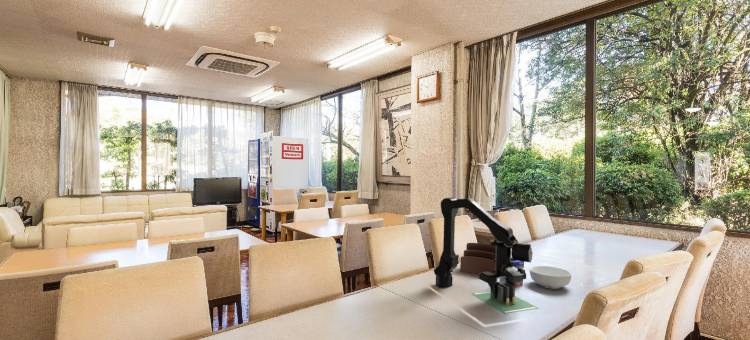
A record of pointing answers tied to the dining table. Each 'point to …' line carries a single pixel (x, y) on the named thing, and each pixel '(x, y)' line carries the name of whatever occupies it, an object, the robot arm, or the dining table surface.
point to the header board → (506, 303)
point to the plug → (504, 292)
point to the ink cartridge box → (517, 265)
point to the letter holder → (478, 258)
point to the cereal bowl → (550, 276)
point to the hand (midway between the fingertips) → (502, 297)
